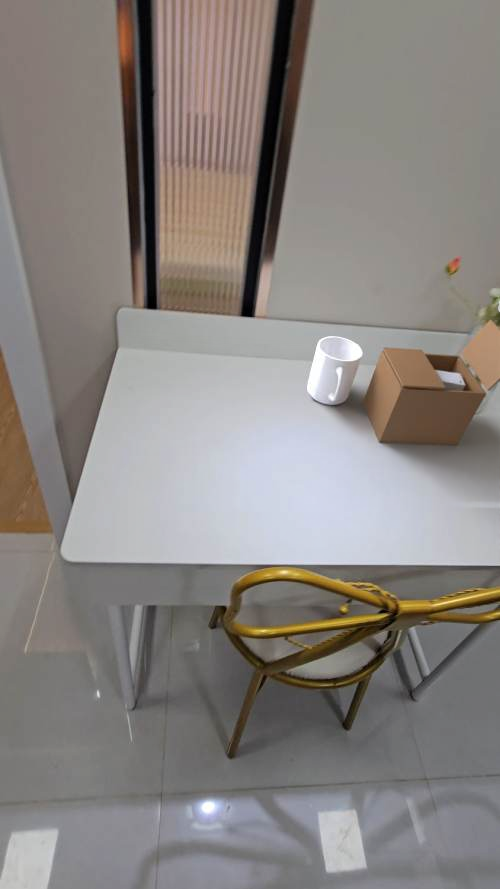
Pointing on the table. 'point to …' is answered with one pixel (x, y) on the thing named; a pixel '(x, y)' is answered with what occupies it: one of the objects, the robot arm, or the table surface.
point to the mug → (333, 370)
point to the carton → (420, 398)
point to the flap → (485, 354)
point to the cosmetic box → (451, 380)
